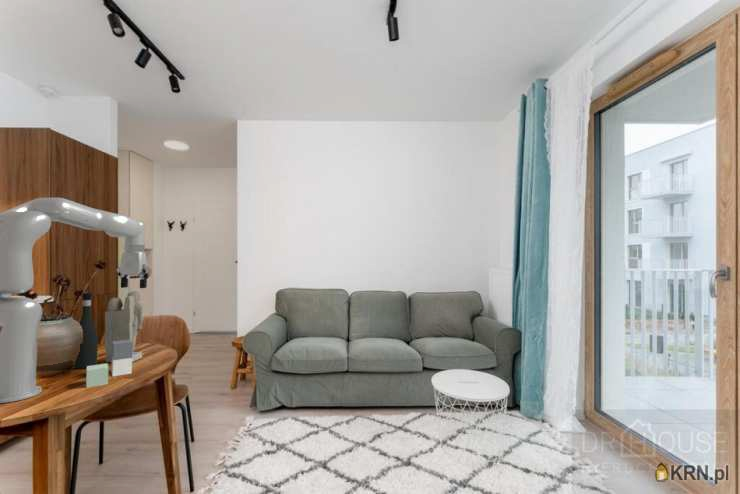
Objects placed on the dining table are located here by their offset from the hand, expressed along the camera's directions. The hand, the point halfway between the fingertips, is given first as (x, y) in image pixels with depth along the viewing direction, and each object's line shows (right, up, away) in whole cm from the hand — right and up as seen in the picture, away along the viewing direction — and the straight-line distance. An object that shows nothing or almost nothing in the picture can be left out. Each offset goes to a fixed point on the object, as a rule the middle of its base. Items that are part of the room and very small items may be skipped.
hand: (133, 287), depth 162 cm
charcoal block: (+9, -25, -20) cm, 33 cm away
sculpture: (-1, -31, -4) cm, 32 cm away
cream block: (+9, -31, -20) cm, 38 cm away
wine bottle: (-11, -31, -13) cm, 36 cm away
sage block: (+8, -31, -32) cm, 45 cm away
